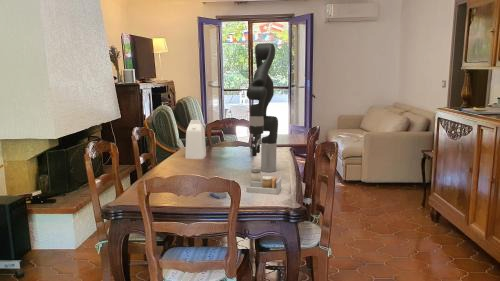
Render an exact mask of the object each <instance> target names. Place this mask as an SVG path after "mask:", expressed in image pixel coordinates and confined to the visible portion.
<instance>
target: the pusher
mask: <svg viewBox="0 0 500 281" xmlns="http://www.w3.org/2000/svg"><path fill="white" fill-rule="evenodd" d="M277 178H278V177H277V176H274V177H272V188H273V189H276V183H277V181H278V179H277Z"/></svg>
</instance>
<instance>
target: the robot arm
mask: <svg viewBox="0 0 500 281" xmlns="http://www.w3.org/2000/svg"><path fill="white" fill-rule="evenodd" d="M275 56H276V47H275V44H274V43H272V42H271V43H270V42H269V43H265V42H264V43H257V44H255V47H254V57H255V64H256V70H255V71H254V75H253V78H252V81H251V82H250V84H249V85H248V87H247V90H246V97H247V99H249V100H250V101H258V103H254V104H251V105H250V106H249V126H248V127H249V128H248V130H249V131H248V132H249V134H251V135H252V136H251V137H250V138H251V139H250V140H251V141H250V142H251V143H250V148H251V150H252V151H251V153H252V154H251V155H252V157H257V156H258V154H260V170H261V172H263V173H264V172H265V173H274V172H277V144H278V141H277V140H278V129H279V119H278V117H277V116H274V115H273V116H272V115H267V109H268V106H269V104H270V102H271V101H272V99H273V97H274V92H275V90H274V86H275V85H274V82H273V79H272V78H271V76H270V75H269V71H270V69H271V67H272V65H273V62H274V61H275ZM264 132H269V134H268V135H266V136H263V137H262V134H264Z"/></svg>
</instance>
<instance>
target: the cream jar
mask: <svg viewBox="0 0 500 281" xmlns="http://www.w3.org/2000/svg"><path fill="white" fill-rule="evenodd" d="M261 172H262V171H261V168H253V169H250V174H251V175H250V178H251V179H250V181H254V182H261V177H262V176H261Z"/></svg>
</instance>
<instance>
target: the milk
mask: <svg viewBox="0 0 500 281" xmlns="http://www.w3.org/2000/svg"><path fill="white" fill-rule="evenodd" d="M205 132H206V131H205V128H204V126H203V124H202V122H201V120H200V119H191V120H190V122H189V124H188V126H187V128H186V132H185V155H184V156H185V159H187V160H188V159H190V160H191V159H193V160H204V159H205V157H207V151H206V148H207V146H206V133H205Z"/></svg>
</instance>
